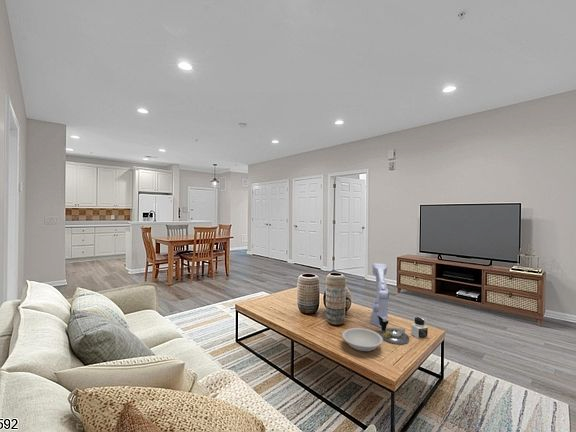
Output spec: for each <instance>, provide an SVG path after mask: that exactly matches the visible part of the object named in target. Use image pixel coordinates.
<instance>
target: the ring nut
mask: <svg viewBox="0 0 576 432" xmlns="http://www.w3.org/2000/svg"><path fill="white" fill-rule="evenodd" d="M386 329H387V331H385V332H383V336H384V337H385V338H390V337H391V338H396V339H398V338H401V337H402V334H406V329H405V328H403V327H398V328H397V327H388V328H386Z"/></svg>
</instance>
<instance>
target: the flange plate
mask: <svg viewBox="0 0 576 432" xmlns="http://www.w3.org/2000/svg"><path fill="white" fill-rule="evenodd" d="M387 329H388V328H386V330H385V331H387ZM385 331H382V330H381V331H379V335H381V337H382V338H383V342H385V343H387V344H391V345H397V346H398V345H399V346H401V345H403V346H404V345H406V344H408V343H409V342H410V337H409V335H408V334H407V333H405V334H402V337H401V338H398V339H396V338H391V337H390V338H385V337H384V336H383V332H385Z"/></svg>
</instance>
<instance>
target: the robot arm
mask: <svg viewBox="0 0 576 432" xmlns="http://www.w3.org/2000/svg"><path fill="white" fill-rule="evenodd" d="M387 272H388V266H387V263H378V262H377V263H376V262H373V263H372V275H373V276H375V284H376V288H375V289H376V294H375V295H376V298H374V299H373V300H372V311H371V313H370V322H369V323H370V324H372V325H374V326H376V327H379V328H381V331H385V330H386V329H387V327H388V324H389V323H390V321H389V320H387V318H388V315H389V314H388V311H389V310H388V307H389V306H388V305H389V298H390V293H389V289H388V285H387V281H385V276H386V275H387Z"/></svg>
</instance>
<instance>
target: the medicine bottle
mask: <svg viewBox="0 0 576 432" xmlns="http://www.w3.org/2000/svg"><path fill="white" fill-rule="evenodd" d="M425 323H426V321H425V319H424V318H422V317H420V316H419V317H417V316H416V317H415V318H414V323H411V325H410V329H411V330H410V334H411V336H413V337H415V338H416V339H417V340H421V339H422V340H423V339H428V333H429V332H428V331H429V329H428V326H426V325H425Z"/></svg>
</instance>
